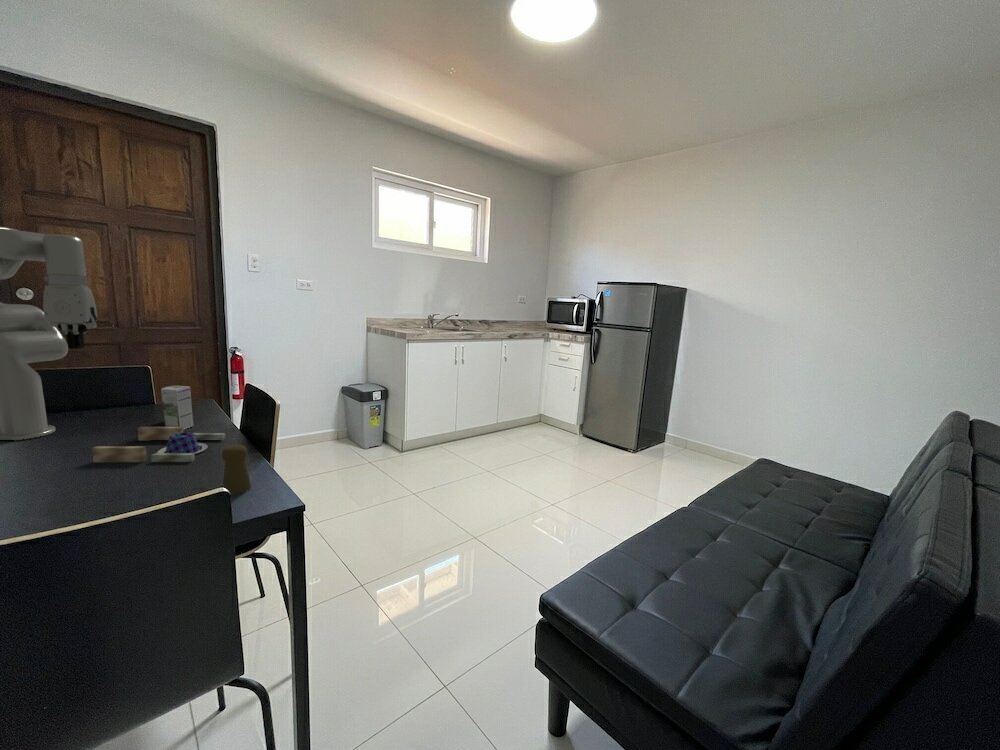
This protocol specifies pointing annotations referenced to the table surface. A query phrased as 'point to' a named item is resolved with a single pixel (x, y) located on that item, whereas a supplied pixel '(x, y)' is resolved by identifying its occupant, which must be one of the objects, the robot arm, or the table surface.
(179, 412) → the syrup box
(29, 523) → the table surface
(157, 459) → the channel
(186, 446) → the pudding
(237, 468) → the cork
